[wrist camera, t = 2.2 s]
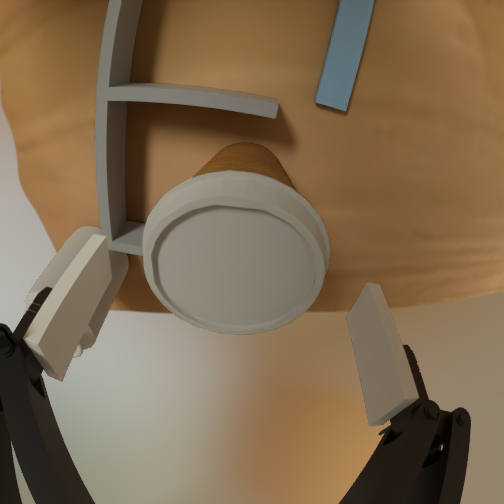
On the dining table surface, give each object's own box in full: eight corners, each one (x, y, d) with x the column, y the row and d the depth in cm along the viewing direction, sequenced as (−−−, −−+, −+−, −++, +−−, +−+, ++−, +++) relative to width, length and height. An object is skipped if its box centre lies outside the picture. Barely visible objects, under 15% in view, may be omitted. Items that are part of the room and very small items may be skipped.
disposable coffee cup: (208, 237, 26) (182, 346, 17) (172, 141, 21) (100, 216, 11) (311, 216, 25) (339, 326, 15) (291, 110, 19) (322, 160, 10)
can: (93, 208, 25) (26, 293, 15) (145, 257, 28) (102, 354, 18) (64, 244, 27) (10, 322, 18) (109, 285, 31) (70, 369, 21)
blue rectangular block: (344, -20, 12) (346, -22, 12) (374, -9, 12) (376, -10, 12) (314, 101, 19) (315, 102, 18) (343, 110, 19) (345, 111, 18)
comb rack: (147, -54, 10) (130, -68, 7) (310, -45, 11) (319, -61, 8) (118, 227, 26) (103, 248, 23) (242, 248, 27) (240, 273, 24)
